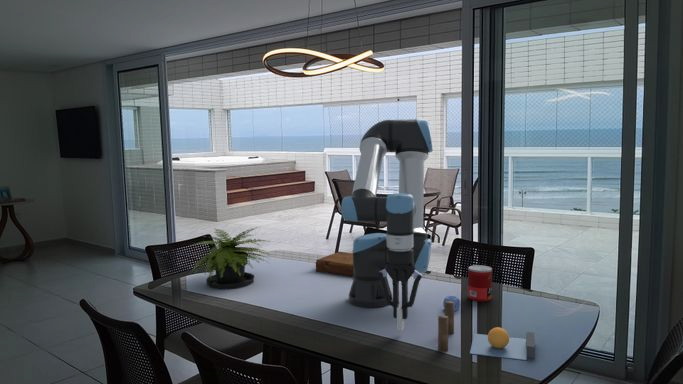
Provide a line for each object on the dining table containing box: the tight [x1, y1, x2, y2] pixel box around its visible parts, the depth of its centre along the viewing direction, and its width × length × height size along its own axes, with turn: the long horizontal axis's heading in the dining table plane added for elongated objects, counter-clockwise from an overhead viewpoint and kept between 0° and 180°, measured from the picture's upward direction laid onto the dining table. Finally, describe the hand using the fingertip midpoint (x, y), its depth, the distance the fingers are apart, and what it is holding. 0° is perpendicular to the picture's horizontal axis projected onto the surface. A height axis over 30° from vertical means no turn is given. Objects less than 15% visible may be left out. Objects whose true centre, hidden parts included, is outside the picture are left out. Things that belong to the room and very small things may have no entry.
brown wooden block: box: [315, 251, 354, 278], centre depth 222 cm, size 23×19×6 cm
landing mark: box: [469, 333, 528, 361], centre depth 139 cm, size 14×14×1 cm
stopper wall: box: [525, 331, 536, 359], centre depth 136 cm, size 2×10×3 cm, turn 161°
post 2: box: [444, 301, 455, 335], centre depth 149 cm, size 3×3×9 cm
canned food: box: [467, 264, 493, 303], centre depth 180 cm, size 8×8×11 cm
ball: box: [487, 326, 510, 349], centre depth 138 cm, size 6×6×6 cm
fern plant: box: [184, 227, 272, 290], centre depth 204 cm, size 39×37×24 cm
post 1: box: [437, 314, 449, 353], centre depth 137 cm, size 3×3×9 cm
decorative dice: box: [442, 295, 461, 312], centre depth 169 cm, size 4×4×4 cm
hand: (400, 329), depth 148 cm, fingers closed
